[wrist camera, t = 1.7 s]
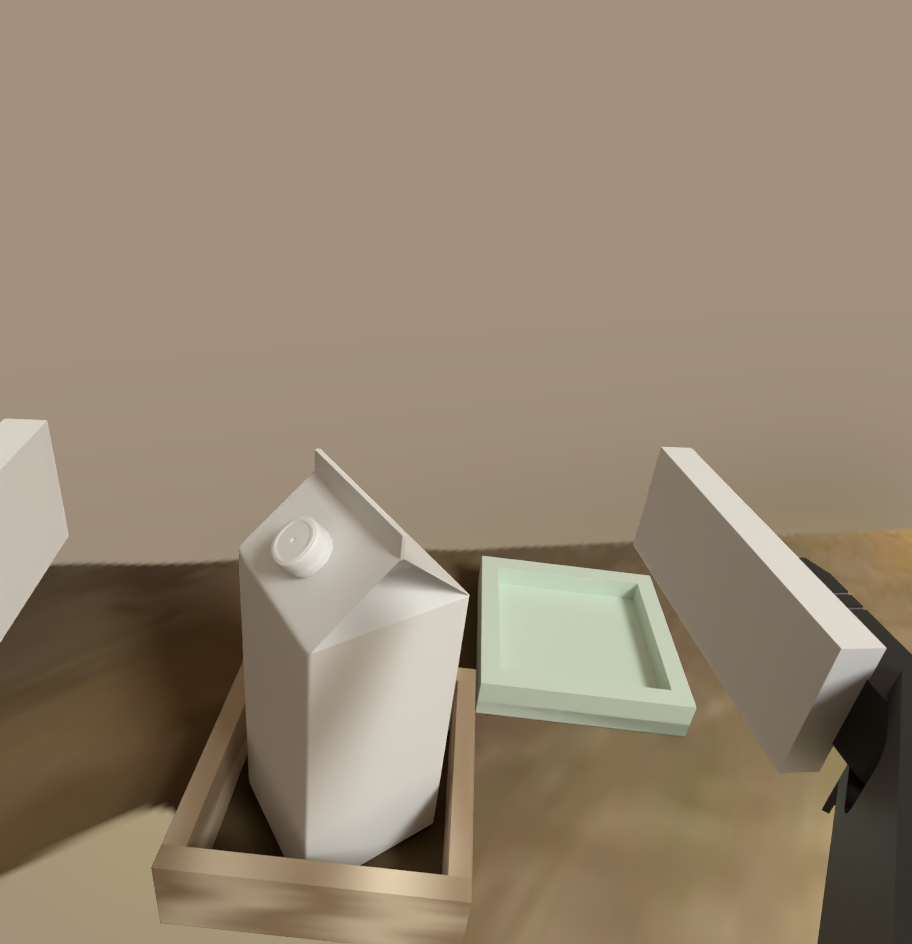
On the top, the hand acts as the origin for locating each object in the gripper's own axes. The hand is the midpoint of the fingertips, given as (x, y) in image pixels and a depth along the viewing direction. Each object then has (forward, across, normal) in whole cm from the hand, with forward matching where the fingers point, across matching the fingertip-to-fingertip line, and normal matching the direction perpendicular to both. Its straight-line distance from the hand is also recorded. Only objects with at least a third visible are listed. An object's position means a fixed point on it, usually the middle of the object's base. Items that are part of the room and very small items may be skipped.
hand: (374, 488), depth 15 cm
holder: (+10, 0, -24) cm, 26 cm away
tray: (+21, +16, -24) cm, 36 cm away
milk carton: (+10, 0, -25) cm, 27 cm away
